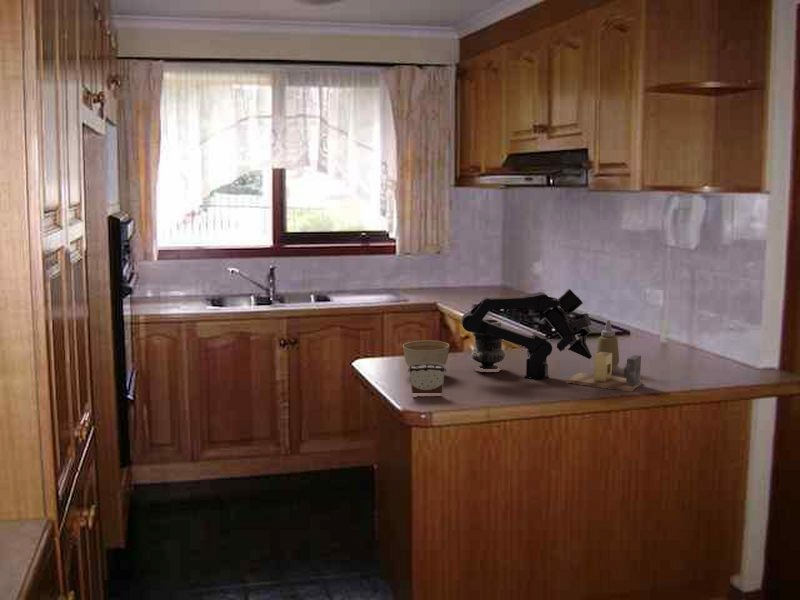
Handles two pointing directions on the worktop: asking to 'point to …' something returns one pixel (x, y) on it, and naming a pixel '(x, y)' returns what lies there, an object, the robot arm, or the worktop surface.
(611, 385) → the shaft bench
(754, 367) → the worktop surface
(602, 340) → the squeeze bottle
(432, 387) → the food container
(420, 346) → the planter bowl
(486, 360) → the apothecary jar
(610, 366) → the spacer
